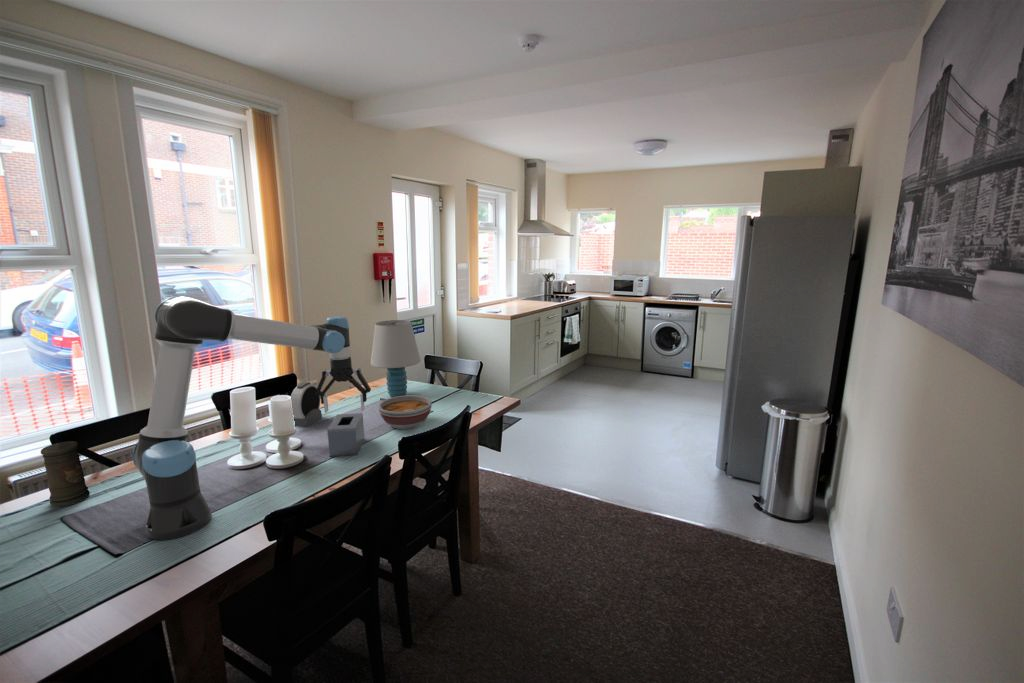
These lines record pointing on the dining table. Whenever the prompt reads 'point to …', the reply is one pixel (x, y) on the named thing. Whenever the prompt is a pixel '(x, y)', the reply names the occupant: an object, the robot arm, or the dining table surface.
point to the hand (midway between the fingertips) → (344, 410)
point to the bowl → (405, 411)
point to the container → (64, 474)
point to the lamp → (394, 353)
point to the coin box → (346, 435)
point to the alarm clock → (306, 405)
